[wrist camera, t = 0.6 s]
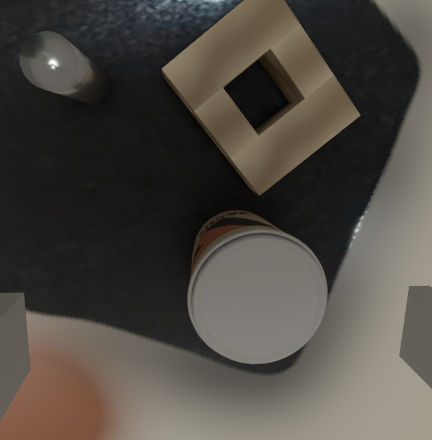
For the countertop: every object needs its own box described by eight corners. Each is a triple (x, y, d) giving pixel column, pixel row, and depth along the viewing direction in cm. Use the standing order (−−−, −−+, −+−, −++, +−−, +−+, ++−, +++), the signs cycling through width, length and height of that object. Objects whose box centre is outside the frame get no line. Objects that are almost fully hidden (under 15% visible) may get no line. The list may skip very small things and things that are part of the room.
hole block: (163, 77, 34) (161, 68, 29) (257, -2, 33) (270, -22, 29) (249, 187, 37) (259, 195, 32) (338, 117, 36) (360, 115, 32)
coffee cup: (247, 179, 36) (280, 202, 25) (302, 259, 38) (357, 314, 27) (163, 240, 37) (157, 291, 25) (223, 315, 39) (243, 394, 27)
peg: (66, 82, 33) (7, 55, 22) (94, 58, 33) (49, 18, 21) (91, 112, 34) (47, 101, 22) (119, 89, 34) (88, 66, 22)
